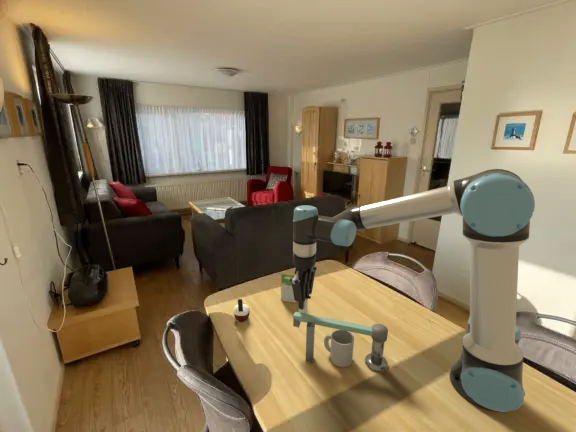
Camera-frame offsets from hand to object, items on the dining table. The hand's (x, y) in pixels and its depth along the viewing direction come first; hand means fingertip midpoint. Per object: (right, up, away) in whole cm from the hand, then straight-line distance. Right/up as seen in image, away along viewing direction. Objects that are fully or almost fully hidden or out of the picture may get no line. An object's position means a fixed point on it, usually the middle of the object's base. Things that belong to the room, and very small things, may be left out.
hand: (302, 315), depth 98 cm
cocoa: (-24, -7, +15) cm, 29 cm away
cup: (+11, -13, -4) cm, 18 cm away
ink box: (-4, -3, +29) cm, 29 cm away
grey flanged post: (+24, -13, -6) cm, 28 cm away
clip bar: (+11, -4, -5) cm, 13 cm away
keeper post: (+2, -13, -5) cm, 14 cm away
